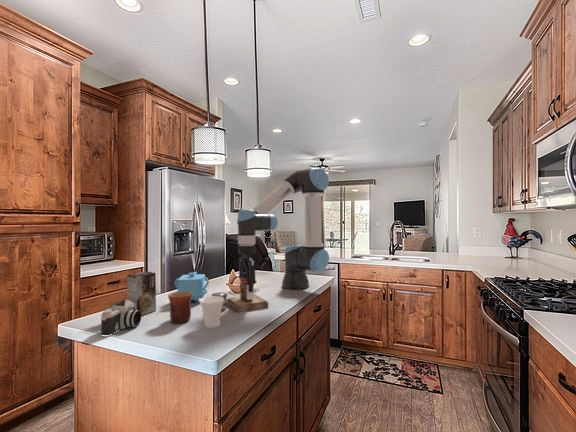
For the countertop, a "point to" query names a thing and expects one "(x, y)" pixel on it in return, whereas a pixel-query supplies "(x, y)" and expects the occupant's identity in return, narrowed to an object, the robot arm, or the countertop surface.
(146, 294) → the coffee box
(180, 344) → the countertop surface
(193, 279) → the teapot
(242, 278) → the supplement bottle
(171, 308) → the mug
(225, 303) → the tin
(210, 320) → the cup
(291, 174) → the robot arm
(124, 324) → the camera
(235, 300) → the stand
